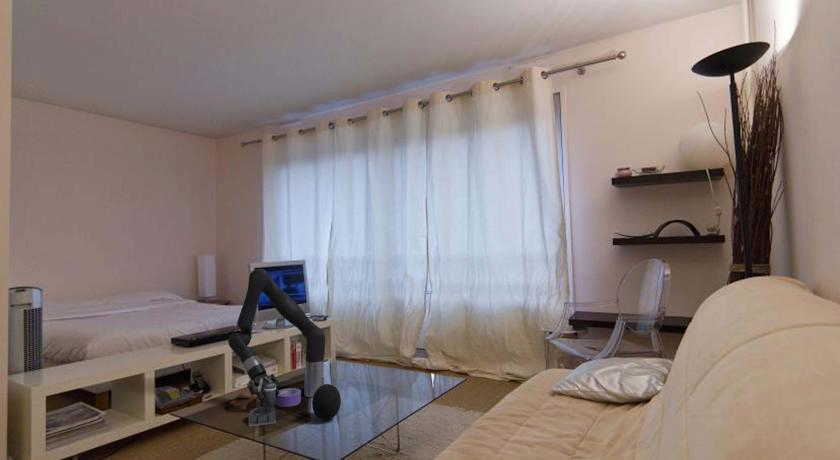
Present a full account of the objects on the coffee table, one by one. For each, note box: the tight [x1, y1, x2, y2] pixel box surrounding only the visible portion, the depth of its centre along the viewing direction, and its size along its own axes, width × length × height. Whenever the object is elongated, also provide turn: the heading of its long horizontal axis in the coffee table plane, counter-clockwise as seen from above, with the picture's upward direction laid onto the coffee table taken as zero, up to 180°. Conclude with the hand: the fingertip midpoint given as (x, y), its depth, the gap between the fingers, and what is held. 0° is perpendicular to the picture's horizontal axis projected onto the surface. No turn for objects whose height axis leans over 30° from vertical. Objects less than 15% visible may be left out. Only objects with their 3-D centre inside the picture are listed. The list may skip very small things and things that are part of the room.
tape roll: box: [275, 387, 302, 408], centre depth 198 cm, size 12×12×5 cm
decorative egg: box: [311, 383, 342, 421], centre depth 179 cm, size 12×12×15 cm
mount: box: [248, 406, 277, 427], centre depth 177 cm, size 11×11×4 cm
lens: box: [262, 383, 276, 409], centre depth 188 cm, size 5×5×11 cm
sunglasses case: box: [227, 389, 259, 410], centre depth 196 cm, size 18×7×7 cm, turn 1°
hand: (270, 397), depth 188 cm, fingers open, 8 cm apart
